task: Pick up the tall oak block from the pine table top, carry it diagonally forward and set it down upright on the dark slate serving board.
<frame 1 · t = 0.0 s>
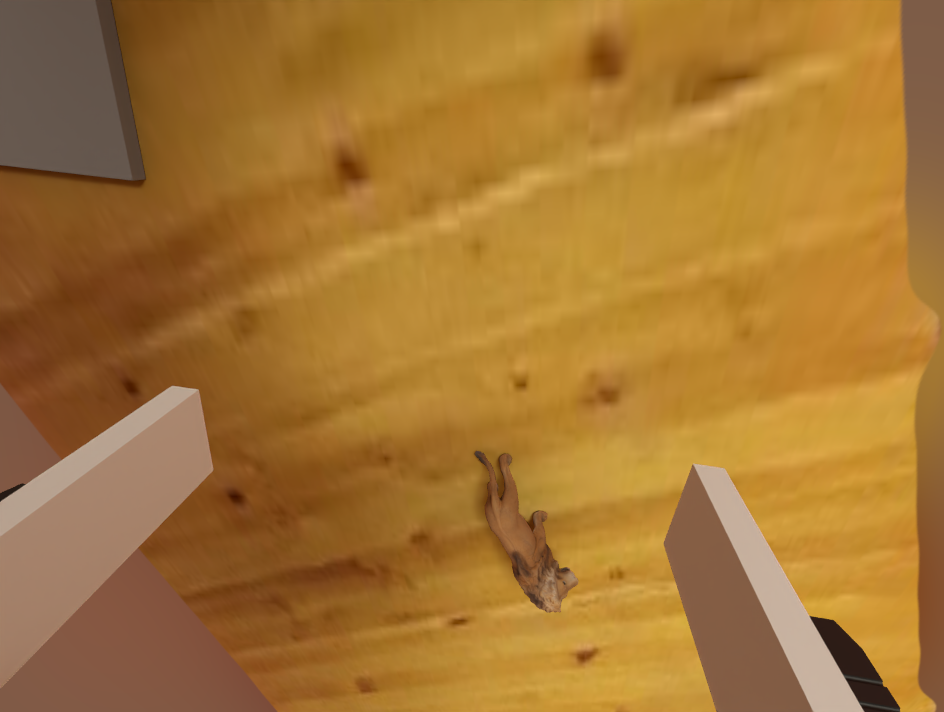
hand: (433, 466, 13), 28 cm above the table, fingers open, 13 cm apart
lion figurine: (523, 498, 49), on the table
slate board: (43, 74, 37), on the table
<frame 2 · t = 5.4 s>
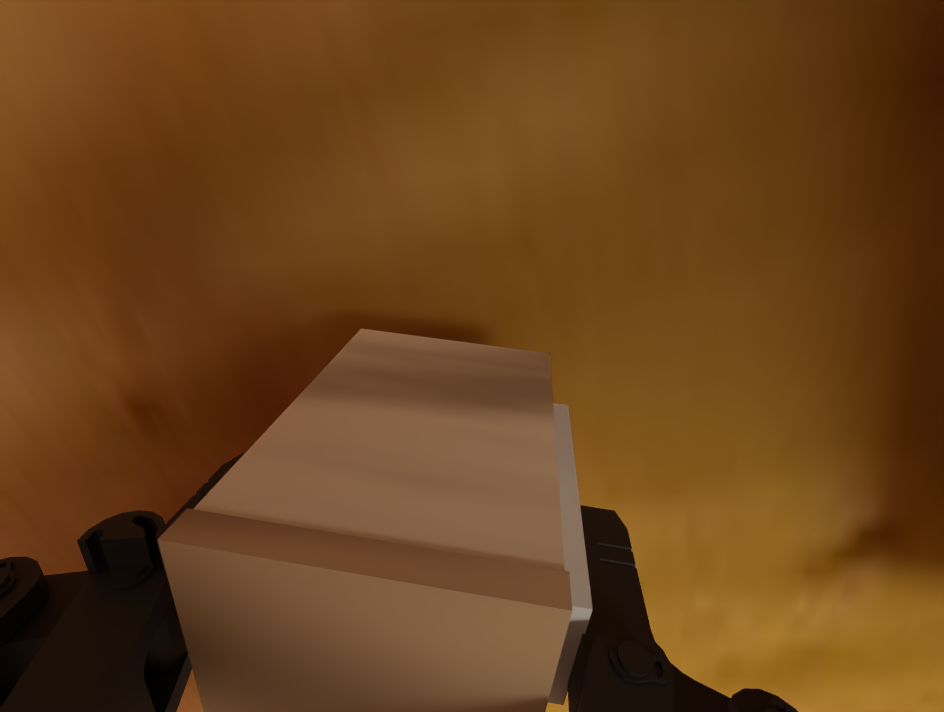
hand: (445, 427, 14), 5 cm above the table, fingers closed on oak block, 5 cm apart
oak block: (447, 421, 15), point 5 cm above the table, touching gripper
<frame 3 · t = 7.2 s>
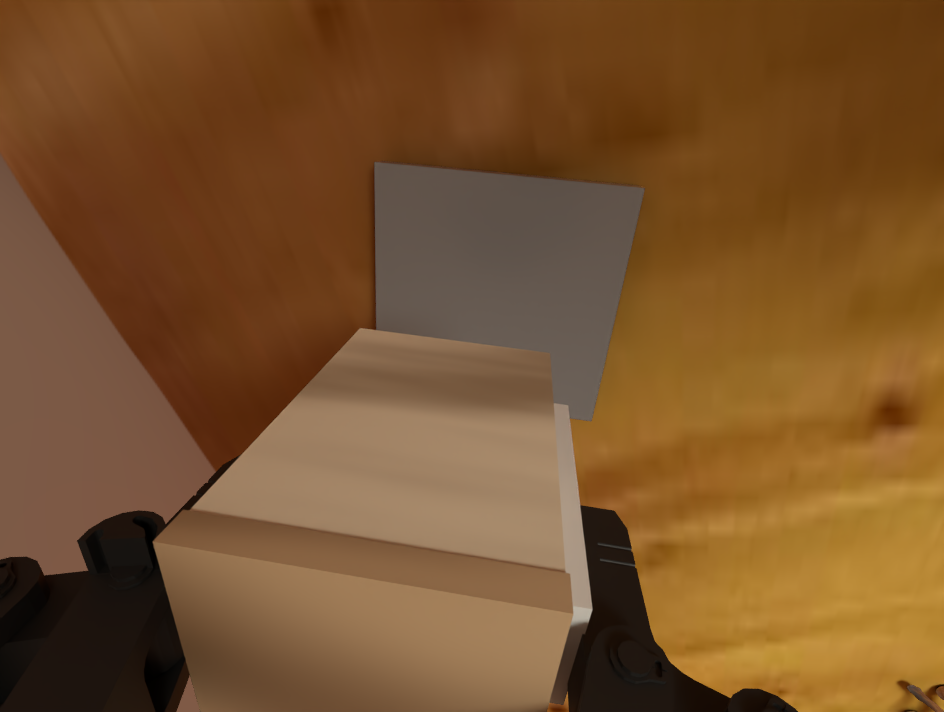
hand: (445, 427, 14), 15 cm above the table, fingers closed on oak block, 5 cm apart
oak block: (447, 421, 14), point 15 cm above the table, touching gripper
slate board: (494, 295, 28), on the table
when the fingers open (2 cm above the table, at t = 9.1 s): oak block stays where it is, resting on slate board.
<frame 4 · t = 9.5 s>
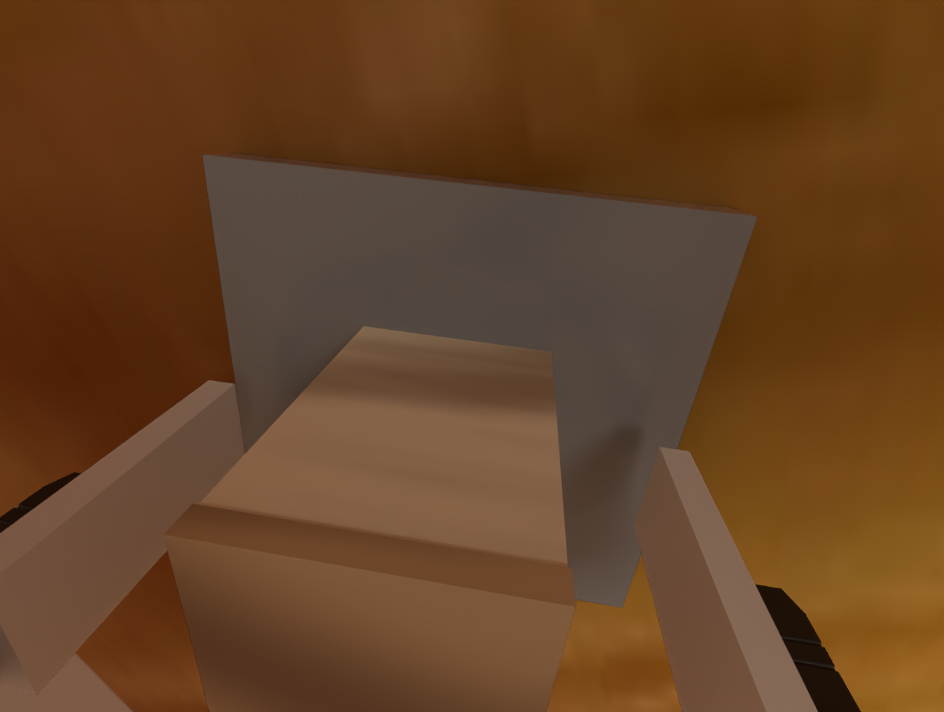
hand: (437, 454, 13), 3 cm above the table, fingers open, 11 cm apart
oak block: (449, 419, 15), point 1 cm above the table, touching slate board
slate board: (455, 397, 16), on the table
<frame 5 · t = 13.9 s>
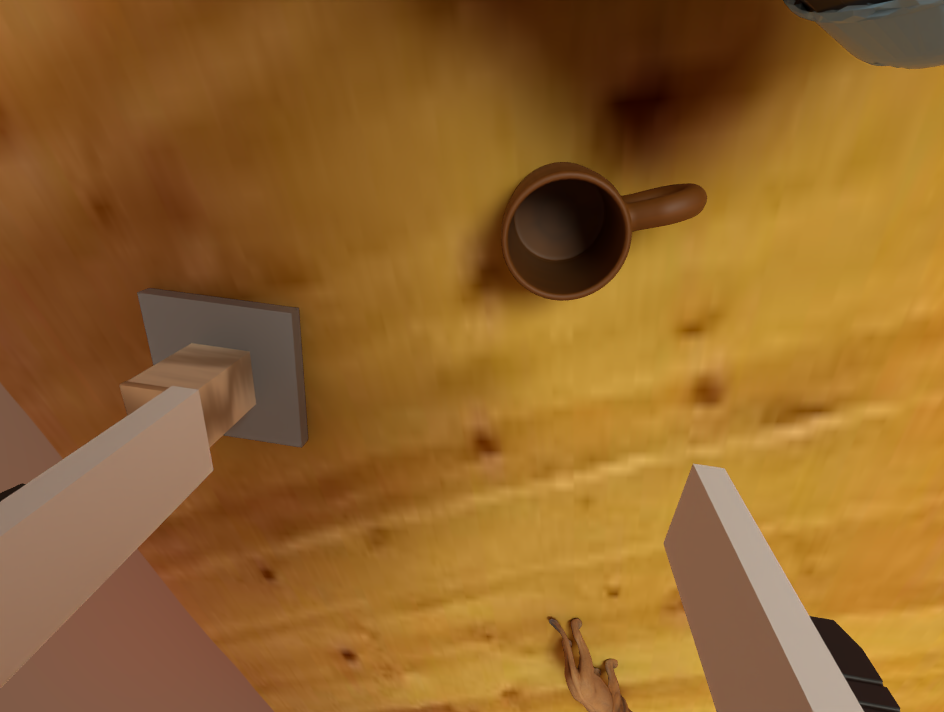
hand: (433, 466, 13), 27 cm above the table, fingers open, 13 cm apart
mug: (587, 207, 35), on the table
lion figurine: (594, 649, 55), on the table
oak block: (224, 374, 43), point 1 cm above the table, touching slate board
slate board: (233, 367, 44), on the table
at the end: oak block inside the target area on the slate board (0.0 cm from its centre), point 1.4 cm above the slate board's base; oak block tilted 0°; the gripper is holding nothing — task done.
